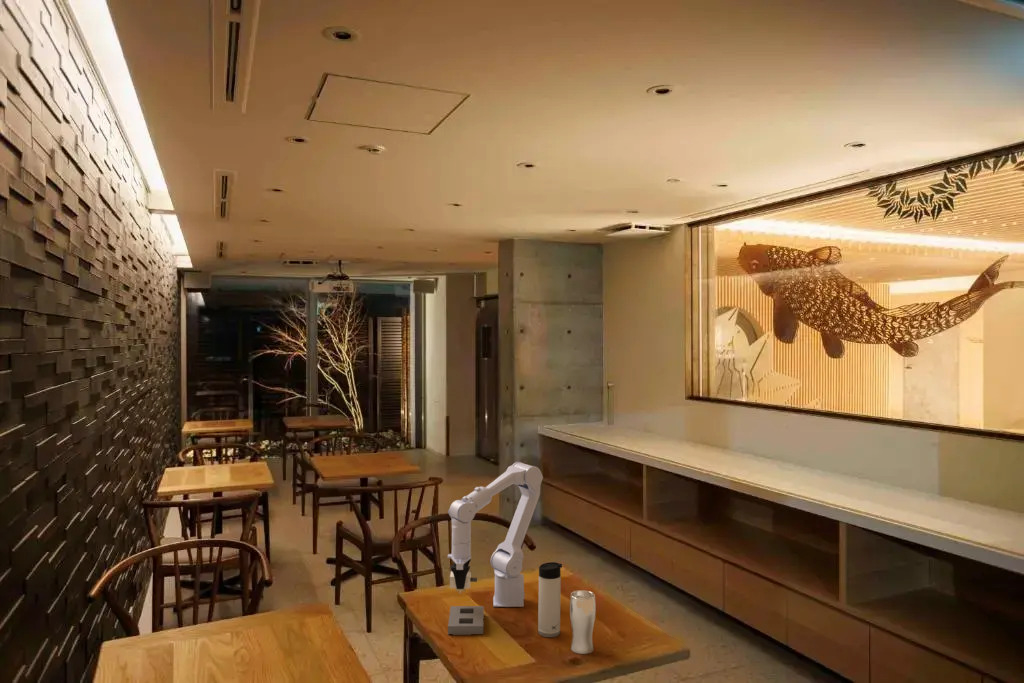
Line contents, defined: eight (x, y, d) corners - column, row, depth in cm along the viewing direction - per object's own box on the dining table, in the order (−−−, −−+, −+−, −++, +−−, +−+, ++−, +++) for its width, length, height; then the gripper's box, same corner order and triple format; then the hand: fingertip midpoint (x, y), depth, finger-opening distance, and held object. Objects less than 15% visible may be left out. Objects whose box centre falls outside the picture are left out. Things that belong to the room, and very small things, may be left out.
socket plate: (483, 614, 213) (483, 606, 213) (483, 634, 200) (483, 626, 199) (450, 614, 213) (450, 606, 213) (447, 635, 199) (447, 626, 199)
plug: (477, 588, 215) (477, 571, 215) (476, 594, 211) (476, 576, 211) (450, 588, 215) (451, 570, 215) (449, 594, 211) (450, 576, 210)
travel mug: (559, 638, 197) (560, 568, 197) (536, 636, 199) (537, 566, 198) (562, 629, 204) (563, 561, 203) (540, 627, 205) (540, 559, 204)
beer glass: (578, 640, 196) (579, 587, 196) (599, 648, 192) (600, 594, 191) (564, 649, 191) (564, 595, 190) (585, 657, 187) (586, 601, 186)
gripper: (449, 533, 220) (449, 576, 220) (446, 548, 205) (445, 594, 206) (472, 533, 220) (471, 576, 220) (470, 548, 205) (469, 594, 206)
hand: (460, 585), depth 213 cm, fingers closed on plug, 5 cm apart
